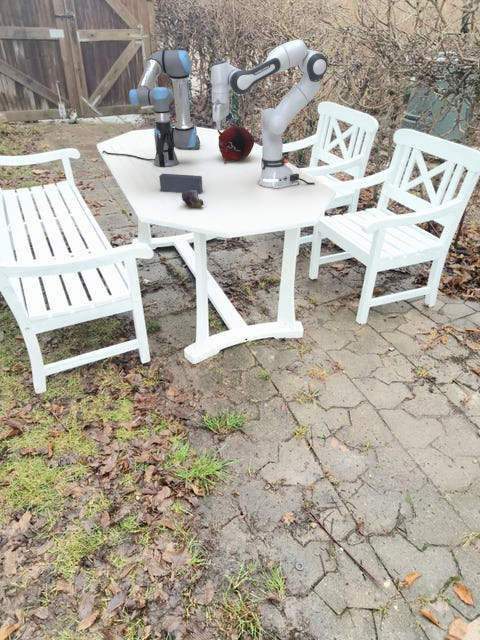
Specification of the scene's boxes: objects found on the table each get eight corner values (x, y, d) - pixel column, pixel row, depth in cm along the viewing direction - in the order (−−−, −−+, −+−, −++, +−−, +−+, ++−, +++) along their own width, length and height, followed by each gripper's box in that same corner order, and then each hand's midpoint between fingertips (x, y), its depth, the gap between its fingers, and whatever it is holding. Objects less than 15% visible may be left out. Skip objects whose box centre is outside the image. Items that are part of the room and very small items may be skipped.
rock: (197, 203, 236) (179, 206, 232) (195, 186, 232) (177, 189, 228) (206, 207, 226) (187, 210, 222) (204, 189, 223) (185, 192, 219)
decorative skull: (215, 132, 306) (215, 129, 282) (249, 124, 305) (251, 121, 281) (222, 164, 313) (222, 164, 289) (255, 157, 312) (258, 156, 288)
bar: (160, 191, 250) (159, 176, 245) (163, 188, 253) (162, 173, 249) (200, 193, 245) (199, 178, 241) (202, 191, 249) (201, 175, 244)
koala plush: (200, 149, 323) (198, 120, 312) (175, 150, 322) (172, 121, 311) (200, 144, 337) (198, 115, 326) (176, 144, 336) (173, 116, 325)
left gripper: (161, 126, 220) (165, 170, 231) (177, 117, 240) (181, 157, 252) (146, 125, 221) (151, 169, 233) (164, 116, 241) (168, 157, 253)
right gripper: (221, 102, 217) (222, 132, 225) (231, 95, 234) (231, 123, 241) (208, 101, 218) (210, 131, 226) (219, 95, 235) (220, 123, 243)
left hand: (166, 163), depth 242 cm, fingers open, 13 cm apart
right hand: (221, 127), depth 234 cm, fingers open, 8 cm apart
